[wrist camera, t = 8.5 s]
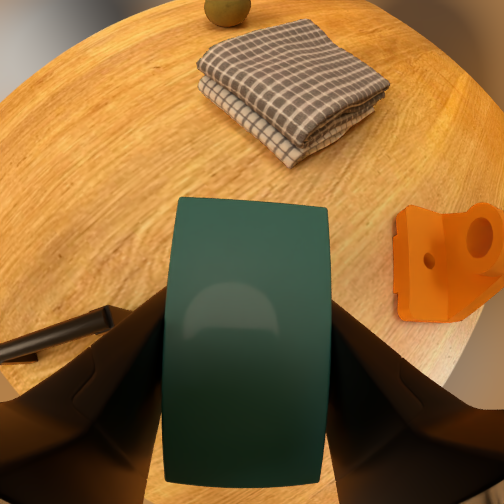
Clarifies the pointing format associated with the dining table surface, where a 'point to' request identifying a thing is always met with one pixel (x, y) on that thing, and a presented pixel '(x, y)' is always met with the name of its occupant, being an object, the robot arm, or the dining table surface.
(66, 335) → the dark pull handle
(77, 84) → the dining table surface
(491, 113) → the dining table surface
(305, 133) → the towel
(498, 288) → the bracket
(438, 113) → the dining table surface
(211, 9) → the apple
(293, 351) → the dark green block
